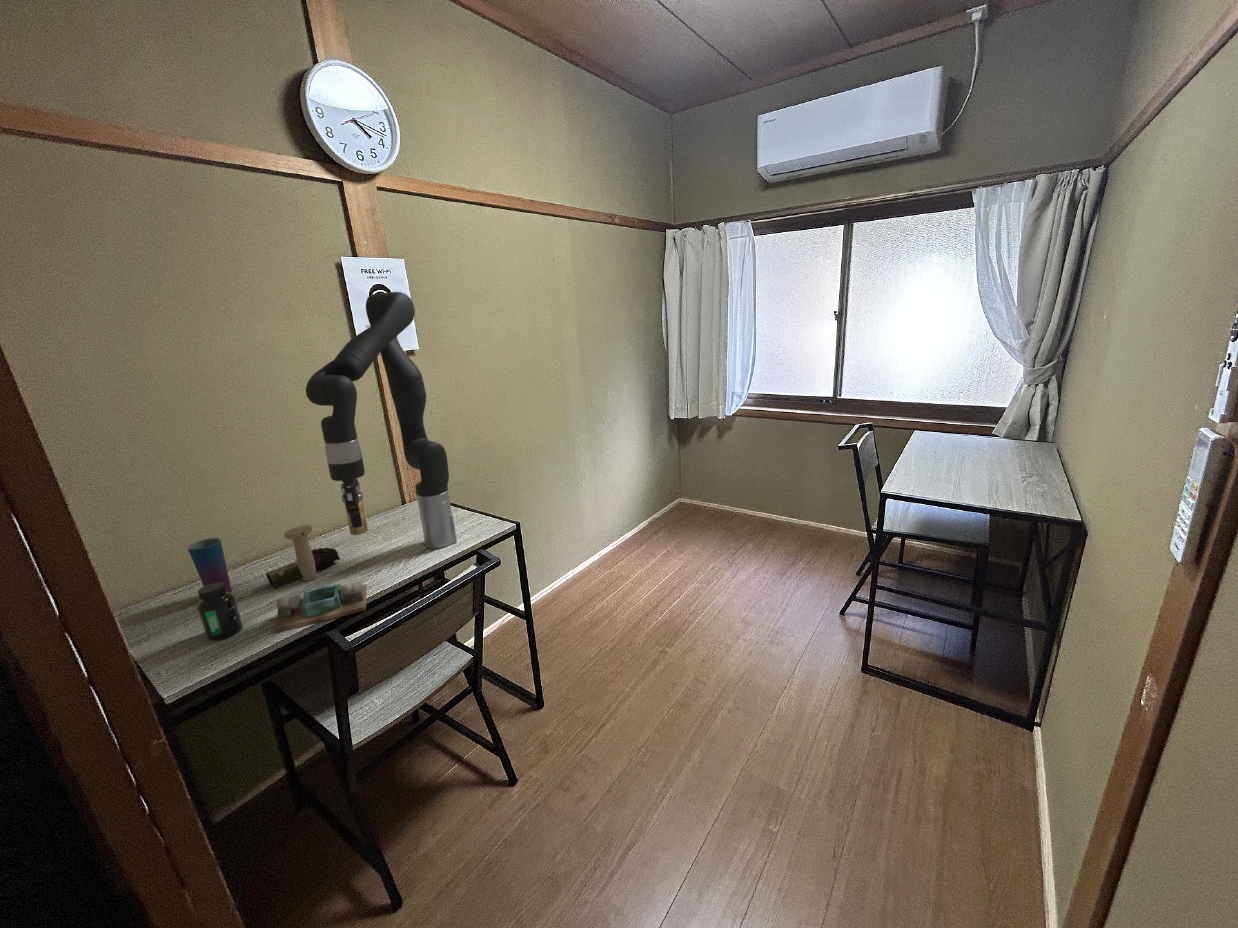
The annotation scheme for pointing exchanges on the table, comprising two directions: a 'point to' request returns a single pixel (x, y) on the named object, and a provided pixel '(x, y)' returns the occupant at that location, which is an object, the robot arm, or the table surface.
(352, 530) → the cylinder
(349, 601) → the shaft bench
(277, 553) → the table surface
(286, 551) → the table surface
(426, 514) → the robot arm
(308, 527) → the handle
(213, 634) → the supplement bottle
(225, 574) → the cup
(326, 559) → the dark brown elongated piece
